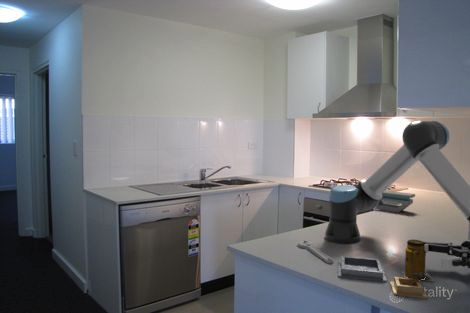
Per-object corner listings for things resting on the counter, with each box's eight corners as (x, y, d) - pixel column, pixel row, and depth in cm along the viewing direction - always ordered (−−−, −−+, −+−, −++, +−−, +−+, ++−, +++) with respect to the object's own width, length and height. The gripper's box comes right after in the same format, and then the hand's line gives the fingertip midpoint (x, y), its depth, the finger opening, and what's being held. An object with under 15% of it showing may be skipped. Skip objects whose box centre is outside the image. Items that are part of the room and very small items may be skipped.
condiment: (401, 271, 130) (402, 237, 129) (428, 273, 128) (429, 239, 127) (406, 280, 123) (407, 244, 122) (434, 282, 121) (436, 245, 120)
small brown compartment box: (390, 283, 120) (390, 275, 120) (420, 286, 118) (421, 278, 118) (393, 295, 112) (394, 286, 112) (427, 298, 109) (427, 290, 109)
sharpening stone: (367, 207, 233) (368, 190, 233) (373, 206, 239) (373, 189, 238) (409, 214, 216) (410, 195, 215) (414, 212, 221) (415, 194, 220)
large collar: (338, 261, 140) (338, 254, 139) (381, 265, 136) (381, 258, 135) (338, 277, 125) (338, 269, 125) (386, 282, 121) (386, 274, 121)
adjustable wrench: (335, 264, 138) (335, 260, 138) (318, 266, 137) (318, 261, 137) (309, 243, 163) (309, 239, 162) (295, 244, 161) (295, 240, 161)
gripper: (511, 274, 119) (456, 281, 113) (448, 250, 143) (400, 254, 137) (513, 251, 118) (457, 257, 113) (449, 230, 142) (401, 234, 137)
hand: (426, 256), depth 125 cm, fingers open, 13 cm apart
